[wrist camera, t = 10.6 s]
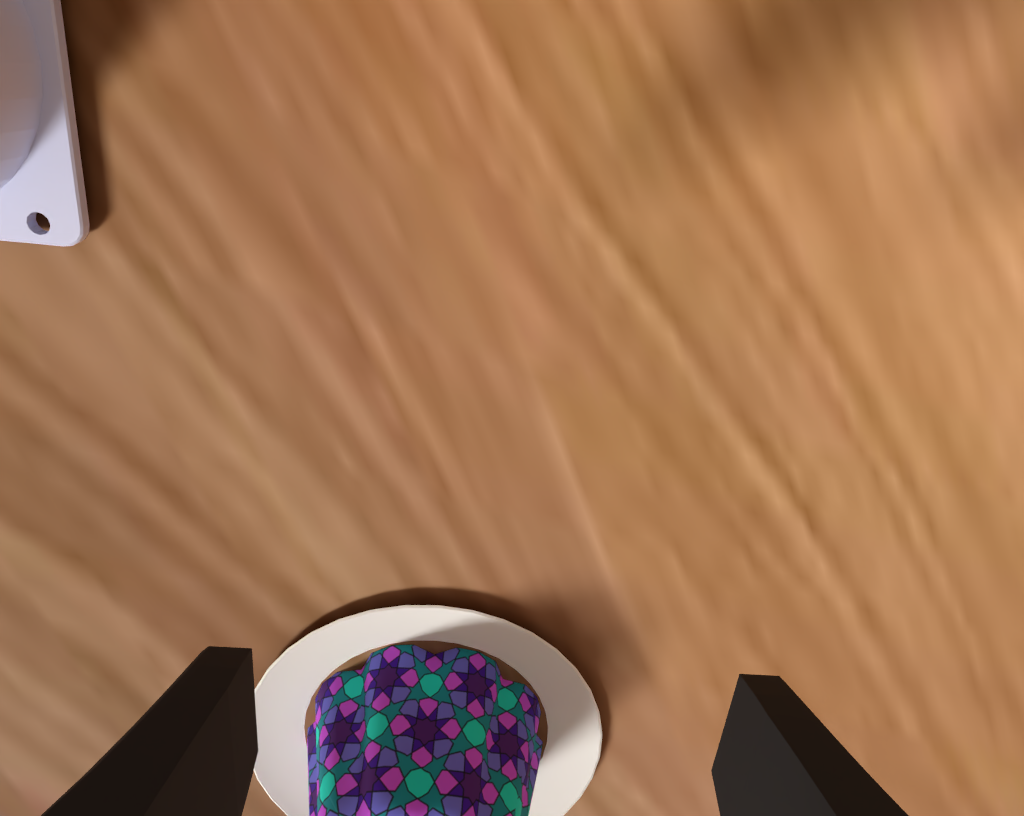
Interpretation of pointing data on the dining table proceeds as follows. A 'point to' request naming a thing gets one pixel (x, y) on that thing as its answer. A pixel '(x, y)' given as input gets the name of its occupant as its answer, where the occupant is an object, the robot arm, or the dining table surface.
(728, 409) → the dining table surface
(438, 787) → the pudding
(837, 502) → the dining table surface
